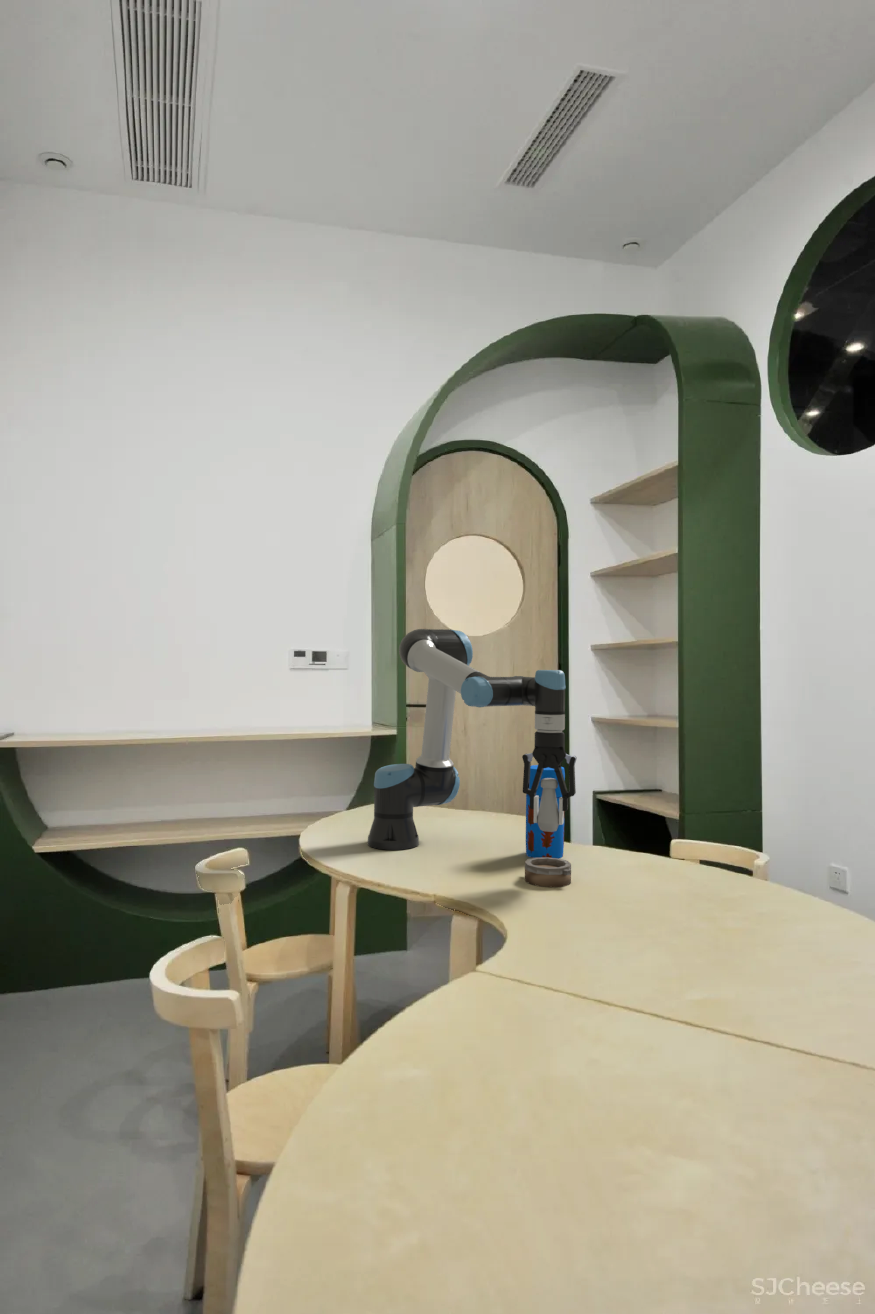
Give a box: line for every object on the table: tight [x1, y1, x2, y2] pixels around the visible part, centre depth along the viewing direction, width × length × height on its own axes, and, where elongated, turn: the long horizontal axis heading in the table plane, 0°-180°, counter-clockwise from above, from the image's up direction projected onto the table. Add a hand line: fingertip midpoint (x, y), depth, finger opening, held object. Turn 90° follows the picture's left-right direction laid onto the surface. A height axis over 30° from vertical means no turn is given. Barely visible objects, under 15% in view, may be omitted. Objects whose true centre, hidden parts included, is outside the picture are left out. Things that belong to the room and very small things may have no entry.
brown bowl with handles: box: [524, 857, 572, 888], centre depth 208 cm, size 14×12×4 cm
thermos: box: [525, 764, 566, 859], centre depth 234 cm, size 11×11×25 cm
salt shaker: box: [537, 778, 559, 832], centre depth 207 cm, size 6×6×13 cm
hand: (548, 822), depth 207 cm, fingers closed on salt shaker, 6 cm apart
